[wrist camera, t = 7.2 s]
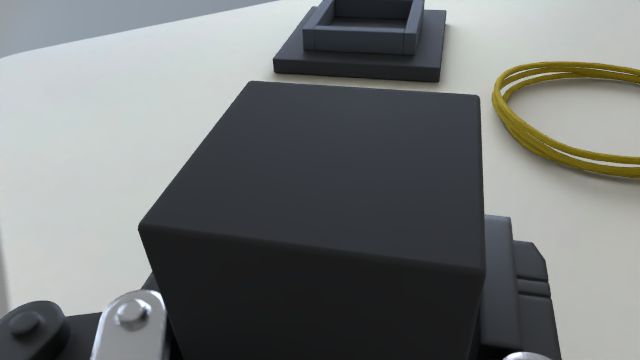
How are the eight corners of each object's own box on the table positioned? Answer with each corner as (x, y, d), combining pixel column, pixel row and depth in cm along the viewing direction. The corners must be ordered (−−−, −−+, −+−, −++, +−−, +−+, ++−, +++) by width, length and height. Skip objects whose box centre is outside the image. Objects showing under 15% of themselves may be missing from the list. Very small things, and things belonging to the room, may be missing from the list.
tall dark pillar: (238, 520, 13) (132, 225, 7) (288, 362, 16) (248, 78, 10) (422, 568, 12) (487, 273, 6) (433, 389, 15) (480, 93, 9)
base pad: (273, 72, 34) (269, 37, 33) (312, 17, 43) (310, -13, 41) (438, 82, 32) (442, 44, 30) (445, 22, 40) (448, -10, 39)
